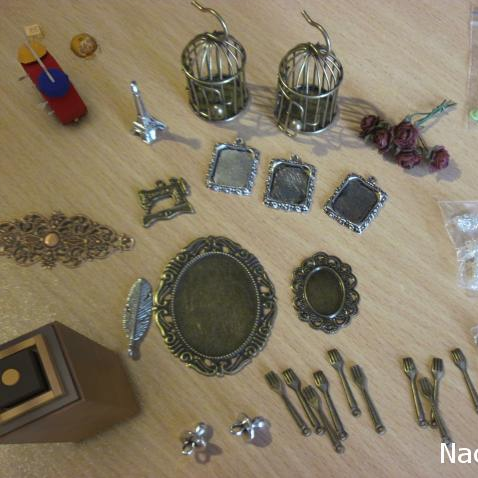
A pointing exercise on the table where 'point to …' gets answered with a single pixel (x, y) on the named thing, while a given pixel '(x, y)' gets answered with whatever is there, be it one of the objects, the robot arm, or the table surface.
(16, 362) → the dark brown block
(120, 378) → the stand
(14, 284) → the table surface
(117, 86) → the table surface
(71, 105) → the red and blue toy
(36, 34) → the alphabet block
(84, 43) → the fruit
